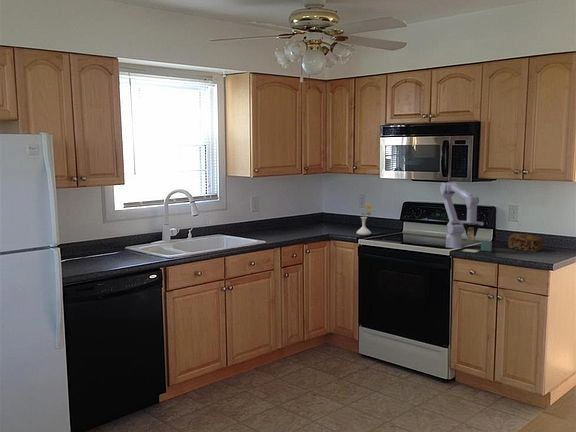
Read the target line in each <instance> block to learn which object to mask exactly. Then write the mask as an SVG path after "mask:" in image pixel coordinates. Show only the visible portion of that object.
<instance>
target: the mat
mask: <svg viewBox="0 0 576 432" xmlns="http://www.w3.org/2000/svg"><path fill="white" fill-rule="evenodd" d="M480 251H481V249H472V248H471V249H469V248H465V249H463V250H461V252H467V253H468V252H469V253H477V252H480Z"/></svg>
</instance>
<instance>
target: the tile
mask: <svg viewBox="0 0 576 432" xmlns="http://www.w3.org/2000/svg"><path fill="white" fill-rule="evenodd" d="M480 251H483V252H492V241H491V240H481V241H480Z"/></svg>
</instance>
